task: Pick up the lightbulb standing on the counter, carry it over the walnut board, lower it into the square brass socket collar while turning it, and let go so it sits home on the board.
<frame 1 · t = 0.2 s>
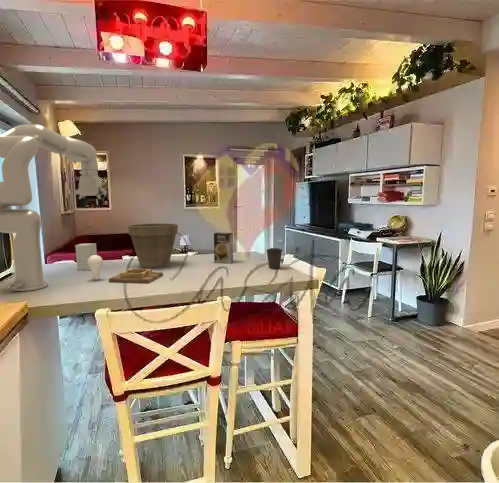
hand: (91, 207, 185), 31 cm above the countertop, tool pointing down, fingers open, 9 cm apart
lightbulb: (96, 280, 158), on the countertop
coffee box: (223, 262, 196), on the countertop
plant pot: (155, 265, 189), on the countertop
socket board: (136, 278, 159), on the countertop
coffee cup: (274, 268, 179), on the countertop
supplement box: (87, 269, 183), on the countertop
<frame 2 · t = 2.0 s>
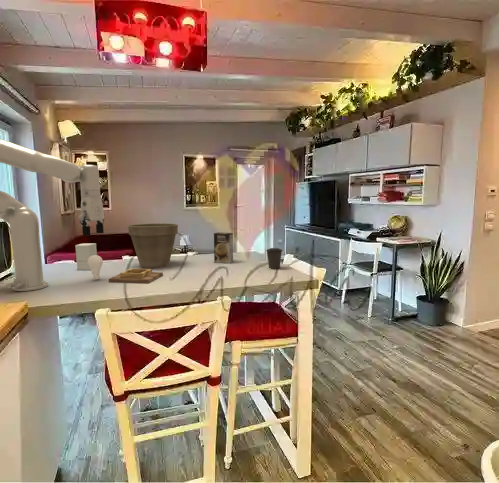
hand: (93, 234, 156), 20 cm above the countertop, tool pointing down, fingers open, 9 cm apart
nothing on the countertop moved.
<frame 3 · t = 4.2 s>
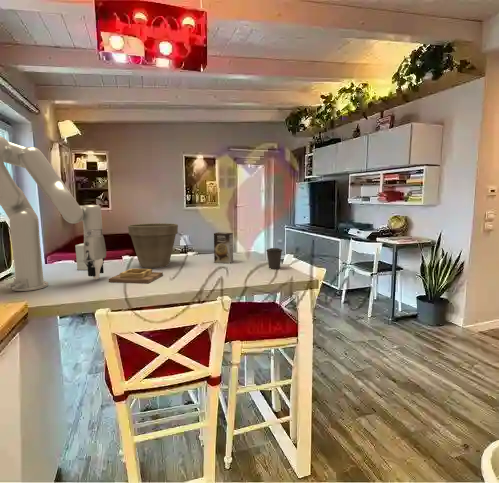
hand: (96, 274, 158), 2 cm above the countertop, tool pointing down, fingers closed on lightbulb, 5 cm apart
lightbulb: (96, 280, 158), on the countertop, touching gripper
everything else where it was.
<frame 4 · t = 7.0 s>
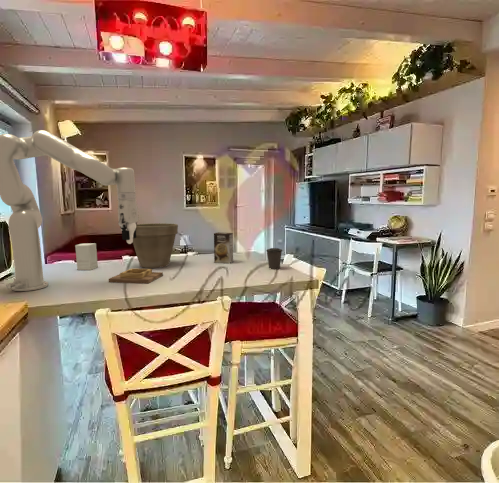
hand: (129, 238, 157), 18 cm above the countertop, tool pointing down, fingers closed on lightbulb, 5 cm apart
lightbulb: (129, 244, 157), point 15 cm above the countertop, touching gripper
everything else where it was.
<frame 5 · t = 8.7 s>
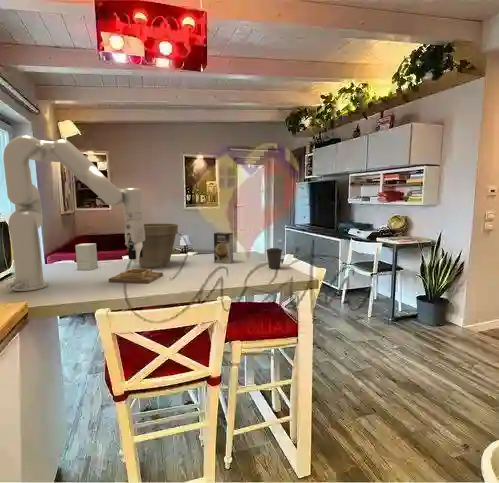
hand: (135, 257, 158), 9 cm above the countertop, tool pointing down, fingers closed on lightbulb, 5 cm apart
lightbulb: (136, 263, 158), point 7 cm above the countertop, touching gripper
everything else where it was.
when the fingers open (5 cm above the countertop, at t = 10.3 s): lightbulb moves 1 cm, resting on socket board.
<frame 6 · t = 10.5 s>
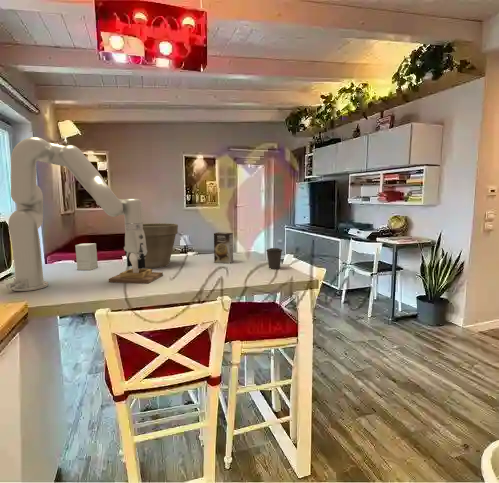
hand: (136, 266, 158), 5 cm above the countertop, tool pointing down, fingers open, 7 cm apart
lightbulb: (135, 275, 160), point 1 cm above the countertop, touching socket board
everything else where it was.
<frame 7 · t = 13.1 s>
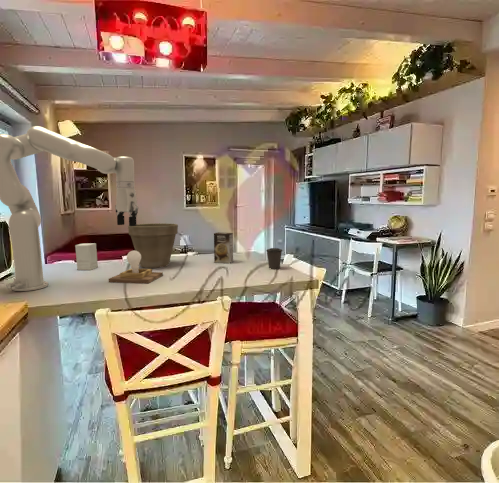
hand: (126, 225, 158), 24 cm above the countertop, tool pointing down, fingers open, 9 cm apart
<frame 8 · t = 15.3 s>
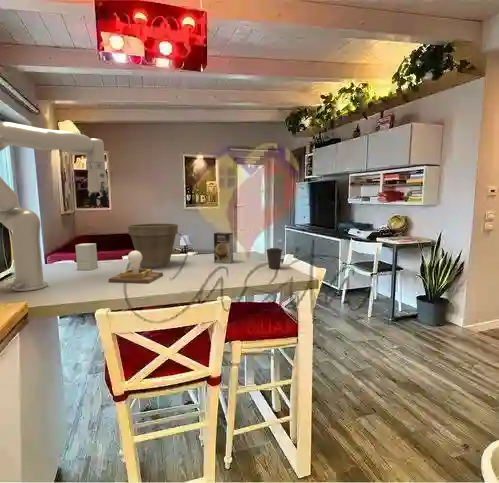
hand: (98, 205, 164), 32 cm above the countertop, tool pointing down, fingers open, 9 cm apart
nothing on the countertop moved.
at the end: lightbulb 0.9 cm off-centre on the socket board, point 1.3 cm above the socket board's base; lightbulb tilted 0°; the gripper is holding nothing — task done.
